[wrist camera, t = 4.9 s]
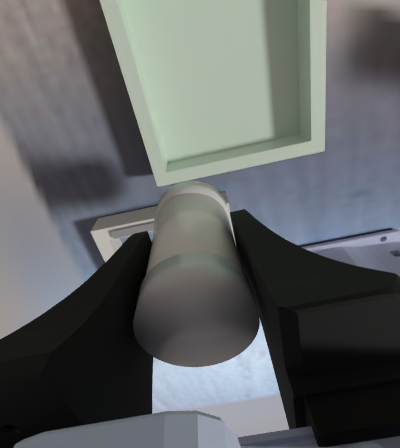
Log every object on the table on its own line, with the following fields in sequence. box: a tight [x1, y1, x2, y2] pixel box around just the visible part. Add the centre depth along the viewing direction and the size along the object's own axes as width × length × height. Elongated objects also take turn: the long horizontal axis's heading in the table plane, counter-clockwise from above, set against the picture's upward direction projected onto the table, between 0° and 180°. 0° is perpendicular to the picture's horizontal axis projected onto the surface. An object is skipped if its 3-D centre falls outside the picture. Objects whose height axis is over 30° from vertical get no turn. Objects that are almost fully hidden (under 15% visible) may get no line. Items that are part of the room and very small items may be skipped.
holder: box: [90, 192, 236, 262], centre depth 22 cm, size 10×7×2 cm, turn 102°
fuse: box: [133, 181, 260, 367], centre depth 11 cm, size 4×4×7 cm
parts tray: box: [100, 0, 327, 187], centre depth 16 cm, size 11×11×2 cm
